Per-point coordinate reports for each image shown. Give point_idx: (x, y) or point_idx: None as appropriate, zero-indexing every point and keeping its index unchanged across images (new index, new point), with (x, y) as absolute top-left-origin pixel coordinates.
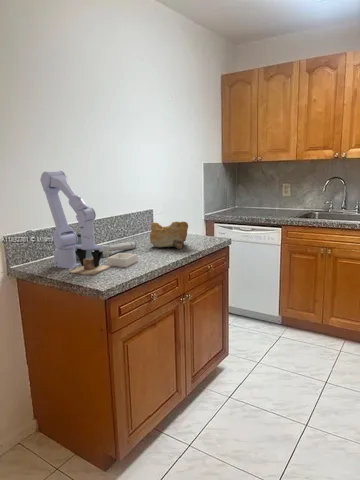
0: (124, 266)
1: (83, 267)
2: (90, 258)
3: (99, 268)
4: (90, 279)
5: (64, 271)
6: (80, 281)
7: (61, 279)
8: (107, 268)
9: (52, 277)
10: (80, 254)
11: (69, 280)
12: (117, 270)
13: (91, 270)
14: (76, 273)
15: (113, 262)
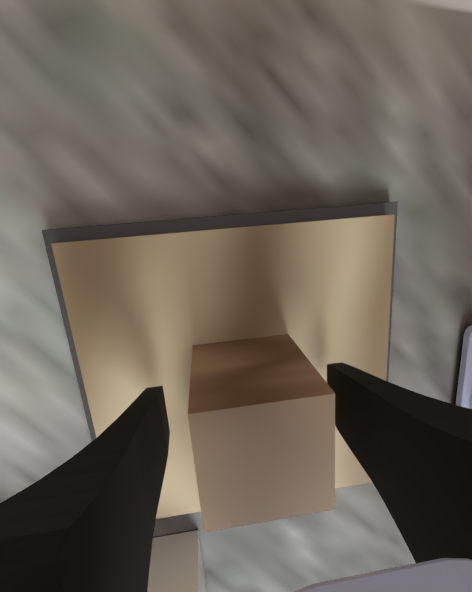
0: None
1: None
2: (262, 478)
3: None
4: (7, 140)
5: (468, 256)
6: (51, 23)
7: (323, 5)
8: None
9: (465, 33)
10: (442, 451)
11: (207, 6)
12: (13, 484)
13: (181, 336)
14: (290, 221)
15: None
